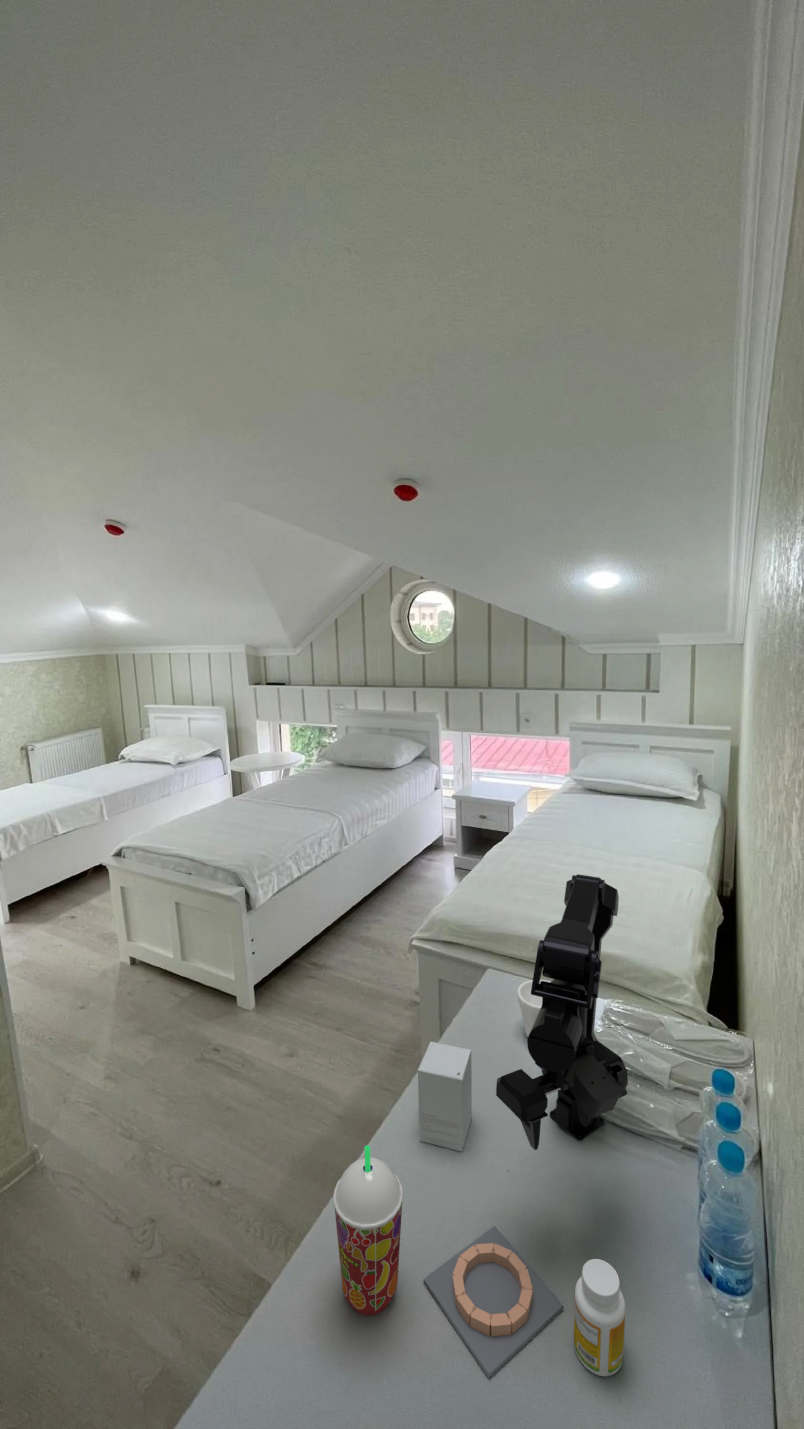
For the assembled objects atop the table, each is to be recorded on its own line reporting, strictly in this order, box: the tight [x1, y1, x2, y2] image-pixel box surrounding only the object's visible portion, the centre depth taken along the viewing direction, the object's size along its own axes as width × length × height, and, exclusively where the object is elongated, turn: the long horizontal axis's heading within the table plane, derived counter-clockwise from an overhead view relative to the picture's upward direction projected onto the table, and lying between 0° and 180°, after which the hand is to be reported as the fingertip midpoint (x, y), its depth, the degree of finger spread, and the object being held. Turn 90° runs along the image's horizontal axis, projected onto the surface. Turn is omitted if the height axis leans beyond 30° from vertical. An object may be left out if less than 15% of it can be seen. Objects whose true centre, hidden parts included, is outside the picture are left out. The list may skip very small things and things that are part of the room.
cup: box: [516, 979, 551, 1038], centre depth 122 cm, size 10×10×9 cm
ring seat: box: [423, 1225, 564, 1379], centre depth 75 cm, size 12×12×2 cm
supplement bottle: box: [573, 1258, 626, 1377], centre depth 69 cm, size 5×5×10 cm
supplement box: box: [417, 1041, 473, 1152], centre depth 99 cm, size 7×7×13 cm
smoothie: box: [332, 1145, 404, 1317], centre depth 74 cm, size 8×8×20 cm
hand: (559, 1135), depth 85 cm, fingers open, 9 cm apart
